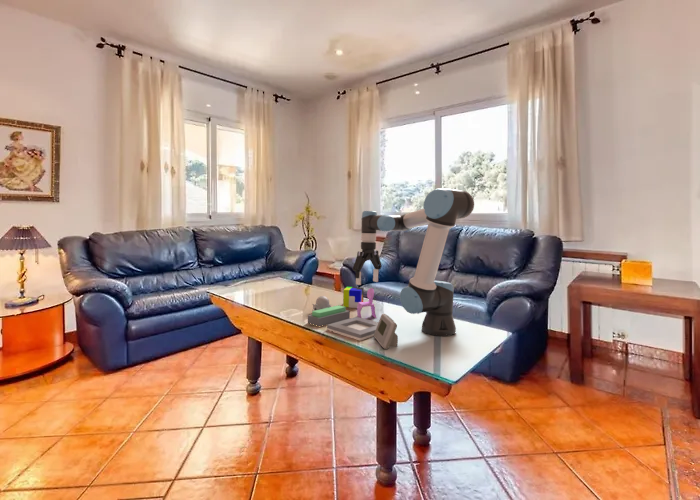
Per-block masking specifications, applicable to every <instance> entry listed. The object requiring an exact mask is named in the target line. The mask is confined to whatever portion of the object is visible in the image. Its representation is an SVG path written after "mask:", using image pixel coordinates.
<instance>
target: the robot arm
mask: <svg viewBox="0 0 700 500" xmlns="http://www.w3.org/2000/svg"><path fill="white" fill-rule="evenodd" d="M474 209H475V201H474V197H473V196H472V194H470V193H469V192H468V191H466V190H462V189H453V188H452V189H451V188H445V187H444V188H443V187H442V188H435V189H433V190H431V191H430V192H429V193H427V195H426V196H425V198H424V201H423V208H421V209H418V210H414V211H410V212H408V213H406V214H401V215H388V214H378V212H377V210H376V211H375V210H363V211H362V213H361V236H360V237H361V238H360V240H361V242H360V248H361V251H357V252H356V253H357V254H356V258H355V261H354V264H353V266H352V271H353V272H355V285H358V286H361V285H362V271H361V270H362V268H363V267H364V265H365V264H366V262H367V261H370V263H371V264H372V266H373V272H372V273H373V275H372V281H373V282H374V283H375V282H376V283H378V282H379V271H380V270H381V268H382V267H383V266H382V262H381V259H380V255H379V250H376V249H377V243H376V241H377V231H379V232H380V231H381V232H397V231H399V232H407V231H411V230H412V229H414V228H419V227H421V226H426V225H427V228H426V231H425V235H424V239H423V243H422V246H421V247H422V248H421V249H420V254H419V258H418V261H417V264H416V269H415V273H414V275H413V277H411V278H409V281H408V284H407V286H405V287H403V288H402V289H401V290H400V293H399V301H400V303H401V306H402V308H403V310H405V311H406V312H407V313H409V314H417V315H419V314H421V313H426V314H425V315H424V318H423V320H422V324H421V331H422V332H423V333H425V334H427V335H431V336H436V337H437V336H439V337H449V336H448V335H450V336H453V335H452V334H454V333H455V332H456V331H457V330H456V329H457V328H456V324H455V320H454V317H453V316H454V315H453V312H454V311H453V309H454V295H455V293H454V292H455V291H454V284H452V283H451V282H448V281H442V280H436V277H437V273H438V270H439V267H440V266H439V265H440V264H441V259H442V256H443V253H444V250H445V245H446V243H447V239H448V236H449V232H450V230H451V229H452V228H453V227H455V224H456V221H457V220H461V219H465V218H467V217H469V216H470V215H471V214H472V213H473V211H474ZM455 334H456V333H455ZM455 334H454V335H455Z"/></svg>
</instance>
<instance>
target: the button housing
mask: <svg viewBox="0 0 700 500" xmlns="http://www.w3.org/2000/svg"><path fill="white" fill-rule="evenodd" d="M350 312H351V311H350V310H347V309H346V311H344V312H340V313H336V314H332V315H328V316H324V317H320V318H318V317H315V316H312V313H311V314H307V324H308V323H311V324H314V325H317V326H321V327H323V326H322V325H325V326H327V325H328V324H332V323H335V322H339V321H343V320H346V319H350V317H351V316H350ZM311 324H310V325H311ZM314 325H313V326H314ZM317 326H316V327H317Z"/></svg>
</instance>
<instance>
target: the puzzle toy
mask: <svg viewBox="0 0 700 500" xmlns="http://www.w3.org/2000/svg"><path fill="white" fill-rule="evenodd" d="M364 289H365V288H364V287H358V286H357V287H354V286H346V287H345V288H344V289H343V294H342V296H343V297H342V299H343V300H342V306H344V307H346V308H353V309H357V305H358V302H364V291H365V290H364Z"/></svg>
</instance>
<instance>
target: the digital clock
mask: <svg viewBox="0 0 700 500" xmlns="http://www.w3.org/2000/svg"><path fill="white" fill-rule="evenodd" d="M378 322H379V323H378V325H377V328H376V330H375V333H374V336H373V337H374V338H375V339H376V341H377V343H378V344H379V345H380V346H381V347H382V348H383V349H384V350H388V349H390V348H391V347H393V348H394V347H398V346H399V345H398V342H399V338H398V337H399V336H398V335H397V333H395V332H396V330H397V328H398V324H397V323H396V322H395V321H394V320H393V319H392V318H391V317H390V316H389V315H387V314H386V313H382V314H381V315H380V317H379V321H378Z"/></svg>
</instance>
